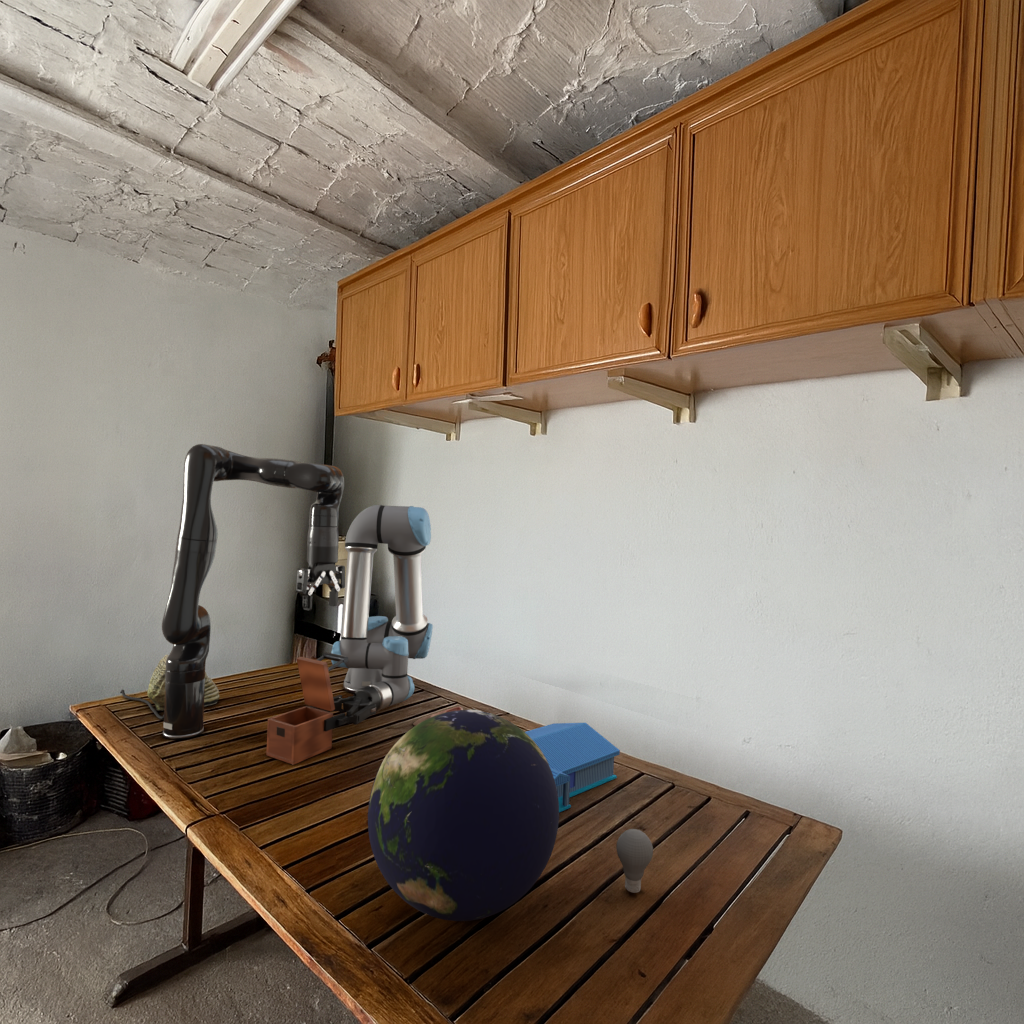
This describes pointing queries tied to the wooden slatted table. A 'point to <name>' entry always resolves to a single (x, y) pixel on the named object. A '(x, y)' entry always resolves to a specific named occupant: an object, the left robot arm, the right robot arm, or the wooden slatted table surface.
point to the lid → (318, 680)
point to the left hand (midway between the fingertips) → (320, 607)
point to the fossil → (158, 687)
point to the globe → (463, 815)
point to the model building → (575, 757)
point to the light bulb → (634, 857)
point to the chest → (298, 735)
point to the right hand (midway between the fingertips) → (310, 721)
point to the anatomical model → (436, 714)
